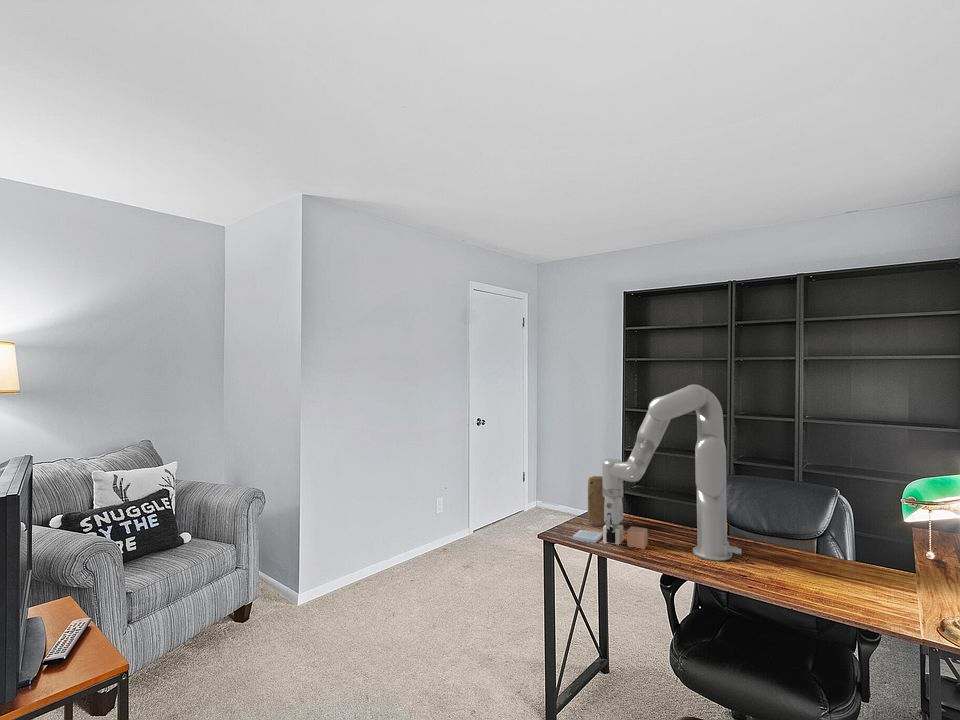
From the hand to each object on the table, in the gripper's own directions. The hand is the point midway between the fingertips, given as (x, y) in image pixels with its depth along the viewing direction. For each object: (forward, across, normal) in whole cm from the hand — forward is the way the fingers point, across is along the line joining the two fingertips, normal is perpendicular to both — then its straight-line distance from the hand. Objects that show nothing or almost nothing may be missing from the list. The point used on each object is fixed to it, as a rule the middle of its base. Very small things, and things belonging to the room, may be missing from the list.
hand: (613, 539), depth 195 cm
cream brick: (+1, 0, 0) cm, 1 cm away
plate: (+1, 0, +10) cm, 10 cm away
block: (+1, +19, +10) cm, 21 cm away
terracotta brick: (+1, 0, -9) cm, 9 cm away
